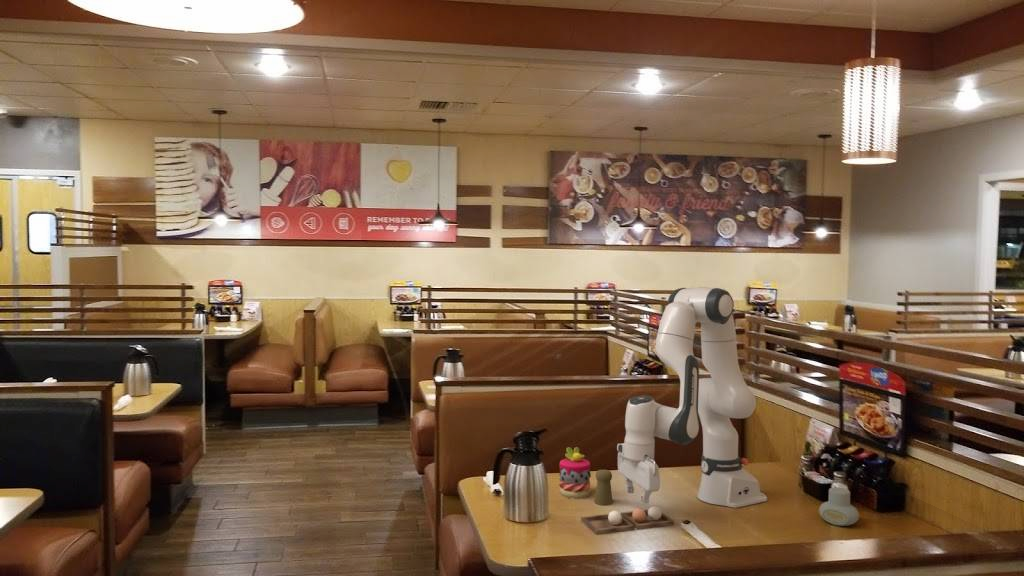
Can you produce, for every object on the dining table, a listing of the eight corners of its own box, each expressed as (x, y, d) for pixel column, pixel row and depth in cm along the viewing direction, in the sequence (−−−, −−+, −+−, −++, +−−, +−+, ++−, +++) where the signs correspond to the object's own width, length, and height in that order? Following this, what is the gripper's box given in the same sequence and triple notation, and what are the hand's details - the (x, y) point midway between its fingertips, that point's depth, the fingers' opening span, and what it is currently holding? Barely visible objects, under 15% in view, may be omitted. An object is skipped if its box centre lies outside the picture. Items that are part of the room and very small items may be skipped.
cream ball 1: (618, 521, 215) (618, 508, 215) (624, 526, 212) (624, 512, 212) (605, 522, 214) (605, 509, 214) (611, 527, 210) (611, 514, 210)
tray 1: (617, 518, 219) (617, 512, 219) (634, 532, 209) (634, 525, 209) (580, 522, 216) (580, 517, 216) (596, 536, 205) (596, 530, 205)
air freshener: (815, 522, 218) (816, 489, 217) (823, 514, 224) (824, 483, 224) (854, 531, 211) (855, 497, 210) (861, 523, 217) (862, 490, 217)
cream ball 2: (657, 516, 219) (657, 503, 219) (663, 521, 216) (664, 508, 216) (645, 518, 218) (645, 505, 218) (651, 522, 214) (652, 509, 214)
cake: (596, 495, 241) (597, 450, 240) (572, 501, 235) (572, 455, 234) (576, 487, 249) (577, 444, 249) (552, 492, 243) (552, 448, 243)
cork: (612, 508, 229) (612, 473, 228) (593, 506, 230) (593, 472, 229) (613, 501, 234) (614, 468, 234) (594, 500, 236) (595, 467, 235)
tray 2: (655, 514, 223) (655, 508, 223) (674, 527, 213) (674, 521, 213) (620, 518, 220) (620, 512, 220) (637, 531, 209) (637, 525, 209)
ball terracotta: (641, 518, 218) (642, 505, 218) (648, 523, 214) (648, 510, 214) (629, 520, 217) (630, 506, 216) (636, 524, 213) (636, 511, 213)
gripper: (666, 460, 205) (664, 508, 206) (633, 442, 225) (631, 486, 225) (646, 461, 203) (644, 510, 204) (614, 443, 223) (612, 487, 223)
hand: (637, 497), depth 215 cm, fingers open, 8 cm apart
